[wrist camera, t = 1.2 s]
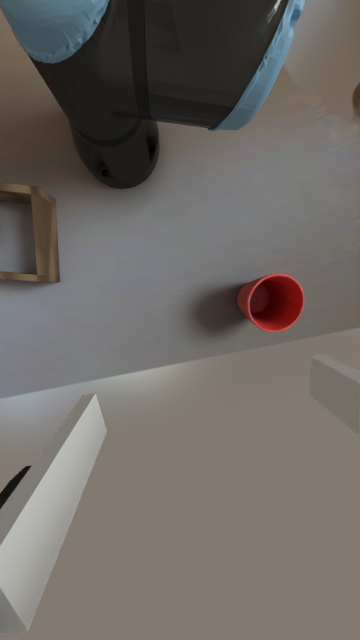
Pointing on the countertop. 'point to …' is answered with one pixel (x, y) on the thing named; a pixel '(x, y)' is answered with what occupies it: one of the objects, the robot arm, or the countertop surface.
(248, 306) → the flower pot
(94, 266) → the countertop surface
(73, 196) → the countertop surface
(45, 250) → the cubby
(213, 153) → the countertop surface
